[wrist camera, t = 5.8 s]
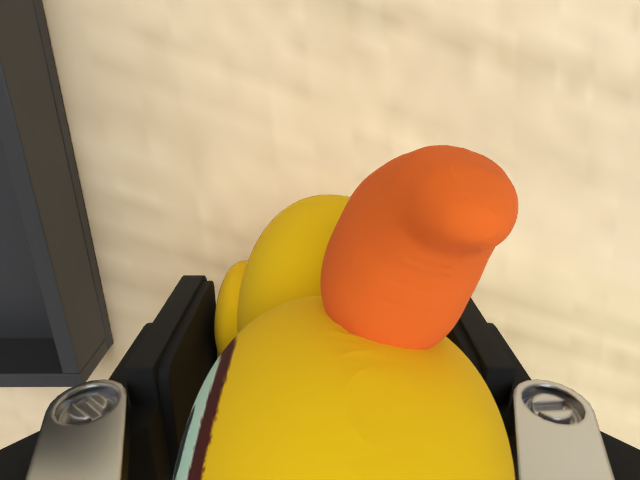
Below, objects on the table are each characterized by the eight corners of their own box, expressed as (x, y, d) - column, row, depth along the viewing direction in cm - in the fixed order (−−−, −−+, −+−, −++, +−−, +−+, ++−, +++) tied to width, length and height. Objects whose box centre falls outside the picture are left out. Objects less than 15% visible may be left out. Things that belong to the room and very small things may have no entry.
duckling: (272, 69, 12) (83, 89, 2) (469, 120, 12) (964, 306, 3) (205, 411, 16) (37, 923, 6) (356, 440, 16) (406, 957, 7)
